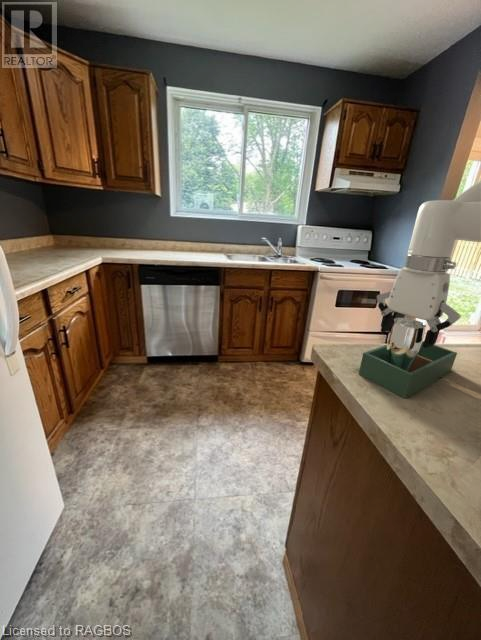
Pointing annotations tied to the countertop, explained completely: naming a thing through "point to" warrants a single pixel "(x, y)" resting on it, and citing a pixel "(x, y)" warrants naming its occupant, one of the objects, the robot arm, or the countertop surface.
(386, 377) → the divided box
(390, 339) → the beer glass
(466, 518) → the countertop surface
